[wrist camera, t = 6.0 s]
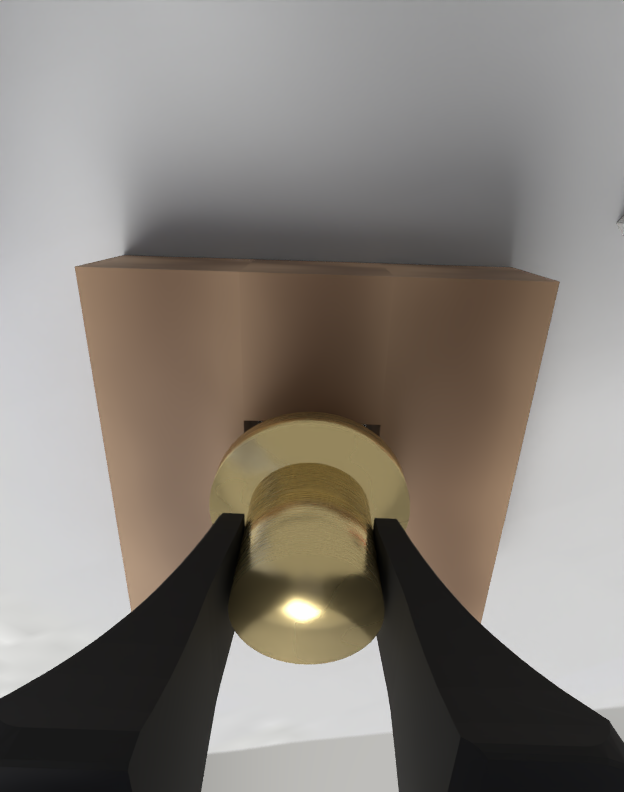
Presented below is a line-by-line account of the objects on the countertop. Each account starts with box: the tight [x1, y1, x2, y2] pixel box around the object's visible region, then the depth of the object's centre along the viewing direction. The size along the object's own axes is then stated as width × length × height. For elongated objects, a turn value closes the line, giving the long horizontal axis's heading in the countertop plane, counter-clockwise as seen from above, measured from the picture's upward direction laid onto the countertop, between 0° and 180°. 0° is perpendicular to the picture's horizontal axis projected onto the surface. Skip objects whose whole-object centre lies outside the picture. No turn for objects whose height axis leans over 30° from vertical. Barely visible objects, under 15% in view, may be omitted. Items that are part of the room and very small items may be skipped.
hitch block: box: [75, 255, 559, 624], centre depth 17 cm, size 14×14×4 cm
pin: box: [209, 412, 410, 664], centre depth 14 cm, size 6×6×7 cm
